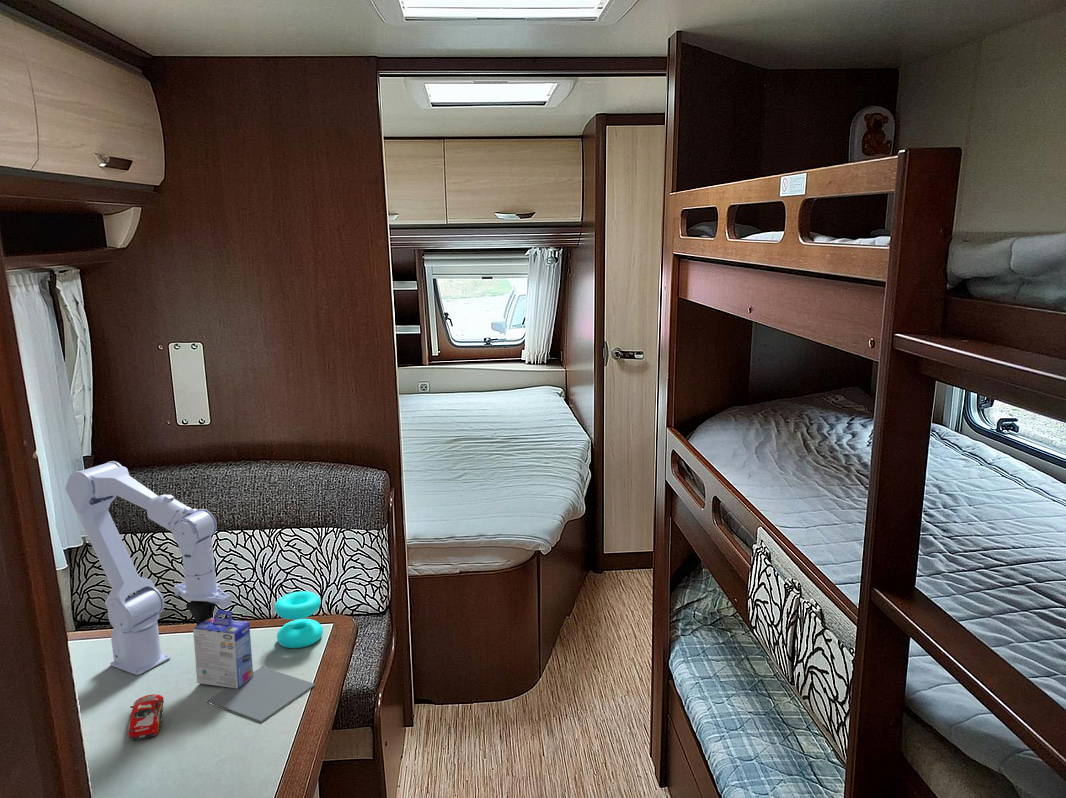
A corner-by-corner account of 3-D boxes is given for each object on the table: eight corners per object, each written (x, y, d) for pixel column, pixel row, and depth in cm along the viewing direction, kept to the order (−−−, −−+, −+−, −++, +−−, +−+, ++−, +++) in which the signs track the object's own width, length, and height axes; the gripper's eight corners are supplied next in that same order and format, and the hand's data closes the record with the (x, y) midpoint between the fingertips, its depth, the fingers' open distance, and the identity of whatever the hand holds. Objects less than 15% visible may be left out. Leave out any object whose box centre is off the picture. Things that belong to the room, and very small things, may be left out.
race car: (135, 707, 146) (133, 688, 145) (166, 701, 148) (164, 682, 147) (125, 746, 134) (122, 726, 133) (158, 739, 136) (156, 719, 135)
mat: (206, 702, 147) (206, 700, 147) (262, 668, 159) (262, 666, 159) (261, 722, 140) (261, 720, 140) (315, 685, 152) (315, 683, 152)
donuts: (311, 608, 164) (266, 608, 165) (314, 651, 166) (270, 650, 167) (326, 589, 174) (284, 588, 175) (329, 629, 176) (287, 628, 176)
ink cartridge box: (255, 675, 155) (250, 610, 153) (239, 690, 150) (233, 623, 147) (213, 669, 158) (207, 605, 155) (196, 684, 152) (189, 618, 150)
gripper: (240, 569, 153) (246, 630, 155) (192, 557, 159) (198, 617, 162) (211, 582, 147) (218, 646, 149) (162, 570, 153) (169, 631, 156)
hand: (206, 632), depth 155 cm, fingers closed, pressing on ink cartridge box
